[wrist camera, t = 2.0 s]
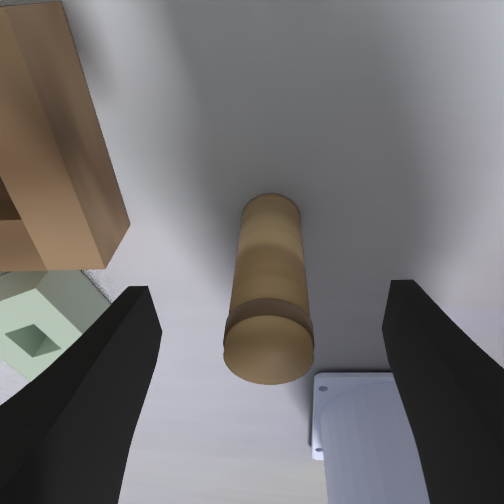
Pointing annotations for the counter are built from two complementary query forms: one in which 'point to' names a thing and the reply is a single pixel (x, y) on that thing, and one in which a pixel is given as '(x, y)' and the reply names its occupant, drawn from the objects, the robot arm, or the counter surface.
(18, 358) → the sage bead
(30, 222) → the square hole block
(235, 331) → the wooden peg
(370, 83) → the counter surface
